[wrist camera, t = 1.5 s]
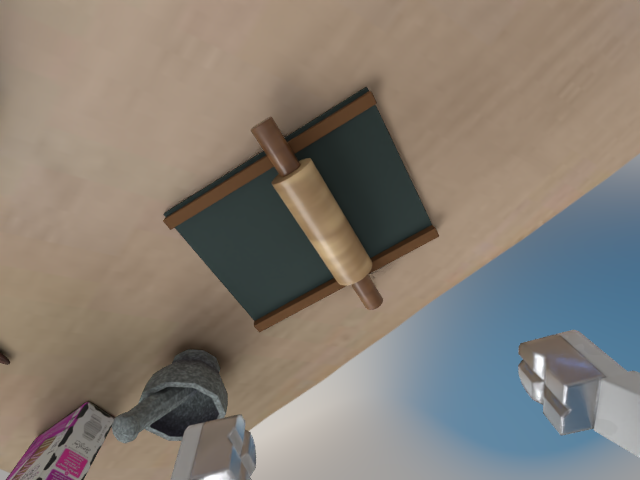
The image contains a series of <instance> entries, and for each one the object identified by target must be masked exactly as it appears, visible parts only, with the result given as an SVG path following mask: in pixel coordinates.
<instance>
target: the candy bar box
mask: <svg viewBox="0 0 640 480" xmlns="http://www.w3.org/2000/svg"><path fill="white" fill-rule="evenodd" d="M114 419H115V418H113V417H112V416H110V415H109V414H107V413H106V412H104V411H103V410H101V409H100V408H98V407H97V406H95V405H94V404H92V403H90V402H86V403H85V404H83V405H82V406H81V407H79V408H78V409H76V410H75V411H74V412H72V413H71V414H69V415H68V416H67V417H65V418H64V419H62V420H61V421H60V422H58V423H57V424H55V425H54V426H53V427H51V428H50V429H48V430H47V431H46V432H44V433H43V434H41V435H40V436H38V437H37V438H36V439H35V440H34V441H33V443H32V444H31V445H30V447H29V448H28V450H27V451H26V452H25V454H24V455H23V457H22V458H21V459H20V461H19V462H18V463H17V465H16V466H15V468H14V469H13V471H12V472H11V473H10V475H9V476H8V477H7V479H6V480H83V479H84V478H85V476H86V474H87V472H88V470H89V468H90V466H91V464H92V462H93V461H94V459H95V457H96V455H97V453H98V451H99V449H100V447H101V446H102V444H103V442H104V440H105V438H106V436H107V434H108V432H109V430H110V428H111V427H112V424H113V421H114Z"/></svg>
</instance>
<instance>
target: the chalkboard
mask: <svg viewBox="0 0 640 480" xmlns="http://www.w3.org/2000/svg"><path fill="white" fill-rule="evenodd" d="M375 104H376V100H375V98H374V96H373V94H372V92H370V91H369V90H368V88H367V87H365V88H364V89H362V90H360V91H359V92H357V93H356V94H354V95H352V96H351V97H349V98H348V99H346V100H344V101H343V102H341V103H340V104H338V105H336V106H335V107H333V108H332V109H330V110H328V111H327V112H325V113H324V114H322V115H320V116H319V117H317V118H316V119H314V120H312V121H311V122H309V123H308V124H306V125H304V126H303V127H301V128H300V129H298V130H296V131H295V132H293V133H292V134H290V135H288V136H287V137H285V140H286V141H287V143H288V145H289V146H290V148H291V150H292V151H293V153H294V154H295V156H296V158H297V159H298V161H300V160H303V159H306V158H311V160H312V161H313V163H314V165H315V167H316V168H317V170H318V172H319V173H320V175H321V177H322V178H323V180H324V182H325V183H326V185H327V187H328V188H329V190H330V192H331V193H332V195H333V197H334V199H335V200H336V202H337V204H338V205H339V207H340V209H341V210H342V212H343V214H344V215H345V217H346V219H347V220H348V222H349V224H350V225H351V227H352V229H353V231H354V232H355V234H356V236H357V237H358V239H359V241H360V242H361V244H362V246H363V247H364V249H365V251H366V252H367V254H368V256H369V257H370V259H371V261H372V268H371V270H370V272H369V273H368V274H370V273H371V272H373V271H375V270H377V269H379V268H381V267H383V266H385V265H386V264H388V263H390V262H392V261H394V260H396V259H398V258H400V257H401V256H403V255H405V254H407V253H409V252H411V251H413V250H414V249H416V248H418V247H420V246H422V245H424V244H426V243H428V242H429V241H431V240H433V239H435V238H437V237H439V234H438V232H437V230H436V228H435V227H434V226H433V225H432V223H431V221H430V219H429V217H428V215H427V213H426V211H425V208H424V206H423V204H422V202H421V200H420V198H419V196H418V194H417V192H416V189H415V187H414V185H413V183H412V181H411V179H410V177H409V175H408V172H407V170H406V168H405V166H404V164H403V162H402V160H401V158H400V156H399V153H398V151H397V149H396V147H395V145H394V143H393V141H392V139H391V137H390V134H389V132H388V130H387V128H386V126H385V124H384V122H383V120H382V118H381V115H380V113H379V111H378V109H377V107H376V105H375ZM278 174H279V173H278V172H277V170H276V169H275V167H274V165H273V164H272V162H271V161H270V159H269V158H268V156H267V155H266V153H265V152H264V151H263V152H261V153H260V154H258V155H256V156H255V157H253V158H252V159H250V160H248V161H247V162H245V163H244V164H242V165H240V166H239V167H237V168H236V169H234V170H232V171H231V172H229V173H228V174H226V175H224V176H223V177H221V178H220V179H218V180H216V181H215V182H213V183H212V184H210V185H208V186H207V187H205V188H204V189H202V190H200V191H199V192H197V193H196V194H194V195H192V196H191V197H189V198H188V199H186V200H184V201H183V202H181V203H180V204H178V205H176V206H175V207H173V208H172V209H170V210H168V211H167V212H165V213H164V216H165V217H166V218H165V219H164V220H163V222H164V223H165V224H166V225H167V226H168V227H169V229H170V230H171V229H173V228H175V229H176V230H177V231H178V232H179V233H180V234H181V236H182V237H183V238H184V239H185V240H186V241H187V243H188V244H189V245H190V246H191V247H192V248H193V250H194V251H195V252H196V253H197V254H198V255H199V257H200V258H201V259H202V260H203V261H204V262H205V264H206V265H207V266H208V267H209V268H210V269H211V271H212V272H213V273H214V274H215V275H216V276H217V278H218V279H219V280H220V281H221V282H222V283H223V285H224V286H225V287H226V288H227V289H228V290H229V292H230V293H231V294H232V295H233V296H234V297H235V299H236V300H237V301H238V302H239V303H240V304H241V306H242V307H243V308H244V309H245V310H246V311H247V313H248V314H249V315H250V316H251V317H252V318H253V320H254V327H255V328H256V329H257V330H258V331H259V332H261V331H263V330H265V329H267V328H269V327H270V326H272V325H274V324H276V323H278V322H280V321H282V320H284V319H285V318H287V317H289V316H291V315H293V314H295V313H297V312H298V311H300V310H302V309H304V308H306V307H308V306H310V305H312V304H313V303H315V302H317V301H319V300H321V299H323V298H325V297H327V296H328V295H330V294H332V293H334V292H336V291H338V290H340V289H342V288H343V287H345V286H347V285H340V284H339V283H338V282H337V281H336V279H335V278H334V276H333V275H332V273H331V272H330V270H329V269H328V267H327V266H326V264H325V263H324V261H323V260H322V258H321V257H320V255H319V254H318V252H317V251H316V249H315V248H314V246H313V245H312V243H311V242H310V240H309V239H308V238H307V236H306V235H305V233H304V232H303V230H302V229H301V227H300V226H299V224H298V223H297V221H296V220H295V218H294V217H293V215H292V214H291V212H290V211H289V209H288V208H287V206H286V205H285V203H284V202H283V200H282V199H281V197H280V196H279V194H278V193H277V191H276V190H275V188H274V187H273V185H272V181H273V179H274V178H275V177H276V176H277V175H278Z"/></svg>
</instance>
